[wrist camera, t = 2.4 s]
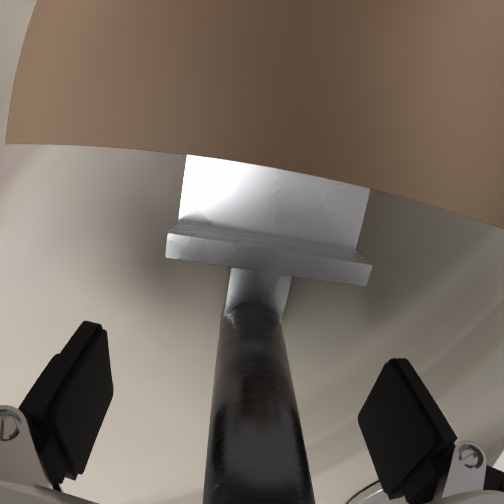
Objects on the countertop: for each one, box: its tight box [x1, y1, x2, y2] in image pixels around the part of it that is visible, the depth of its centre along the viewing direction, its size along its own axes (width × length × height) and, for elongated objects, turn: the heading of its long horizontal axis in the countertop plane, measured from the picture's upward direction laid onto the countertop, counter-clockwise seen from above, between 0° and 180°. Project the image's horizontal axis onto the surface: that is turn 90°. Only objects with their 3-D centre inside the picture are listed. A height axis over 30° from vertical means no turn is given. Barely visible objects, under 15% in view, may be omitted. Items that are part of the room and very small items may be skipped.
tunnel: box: [5, 0, 504, 229], centre depth 7 cm, size 12×9×8 cm
